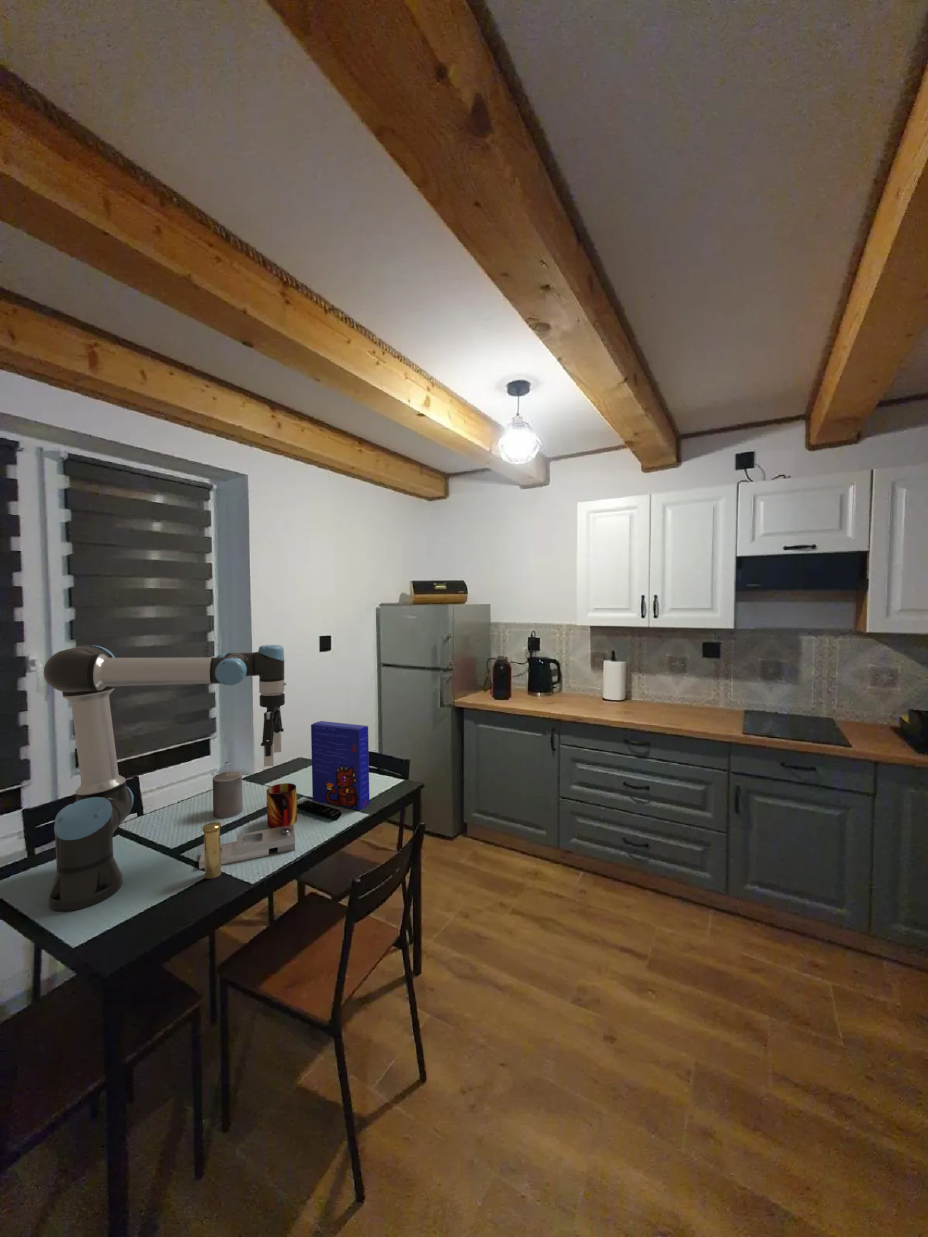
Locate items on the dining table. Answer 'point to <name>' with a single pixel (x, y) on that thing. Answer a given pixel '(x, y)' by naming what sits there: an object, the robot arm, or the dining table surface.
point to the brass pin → (212, 849)
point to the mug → (281, 805)
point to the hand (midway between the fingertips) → (273, 758)
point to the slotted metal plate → (255, 845)
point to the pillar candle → (227, 794)
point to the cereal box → (340, 764)
